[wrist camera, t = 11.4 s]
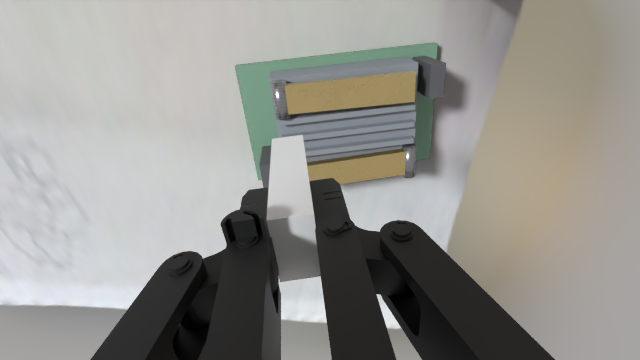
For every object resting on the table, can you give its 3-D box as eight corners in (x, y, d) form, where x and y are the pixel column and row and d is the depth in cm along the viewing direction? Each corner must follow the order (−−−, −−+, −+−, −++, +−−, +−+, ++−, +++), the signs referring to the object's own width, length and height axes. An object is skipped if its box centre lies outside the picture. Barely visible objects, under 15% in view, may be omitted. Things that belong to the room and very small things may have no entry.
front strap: (276, 115, 36) (275, 120, 35) (271, 80, 35) (269, 84, 33) (411, 102, 36) (415, 106, 35) (412, 66, 34) (417, 68, 33)
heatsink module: (259, 175, 46) (254, 202, 40) (236, 64, 39) (226, 76, 33) (426, 155, 47) (447, 177, 41) (433, 42, 40) (460, 49, 34)
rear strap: (413, 142, 39) (418, 147, 38) (412, 171, 41) (417, 176, 40) (289, 160, 38) (290, 166, 37) (294, 188, 40) (295, 195, 39)
